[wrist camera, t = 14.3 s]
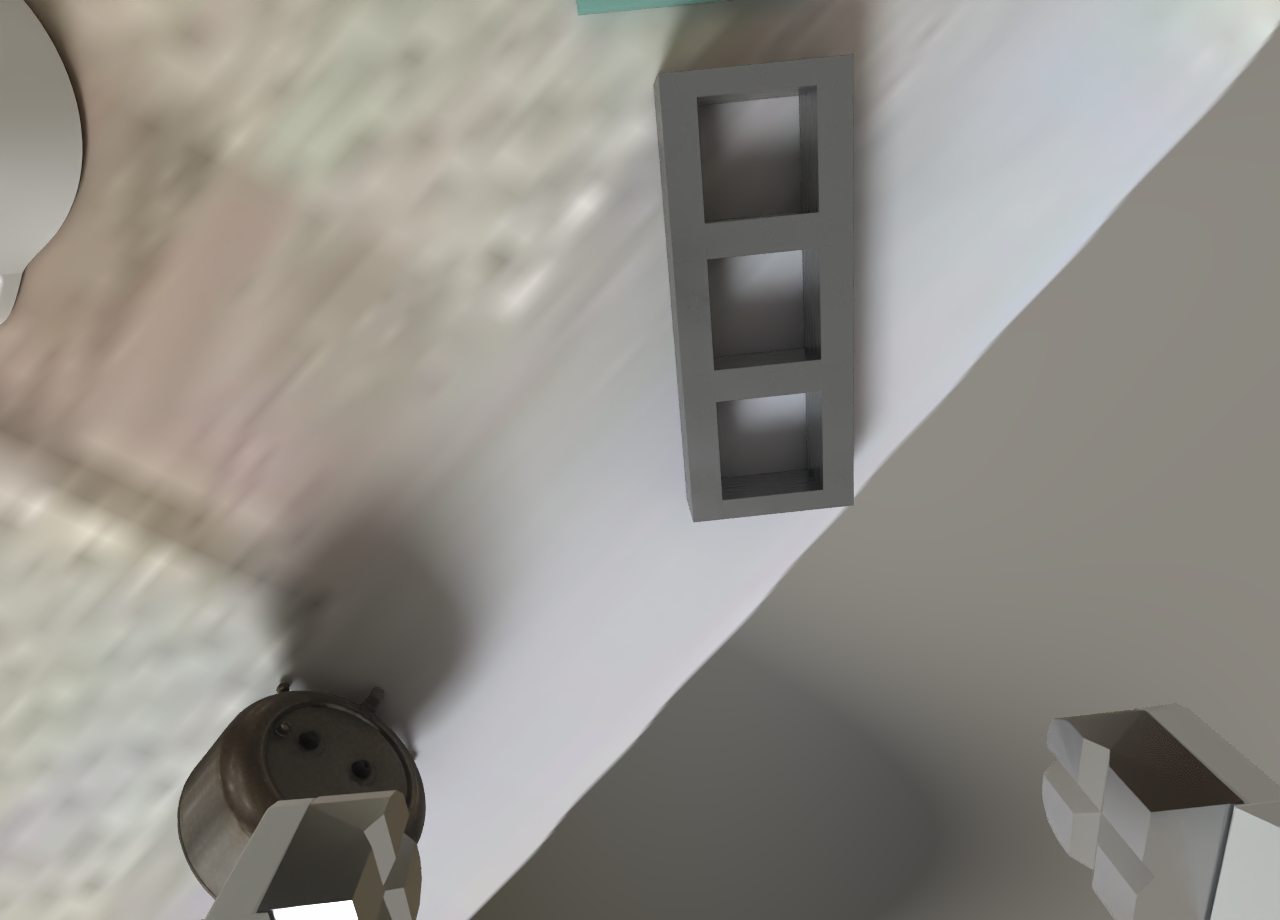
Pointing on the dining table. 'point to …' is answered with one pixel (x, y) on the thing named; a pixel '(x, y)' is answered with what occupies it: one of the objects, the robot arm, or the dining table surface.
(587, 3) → the teal board
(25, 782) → the dining table surface
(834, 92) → the grey peg holder tray
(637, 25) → the dining table surface
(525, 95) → the dining table surface
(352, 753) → the alarm clock
